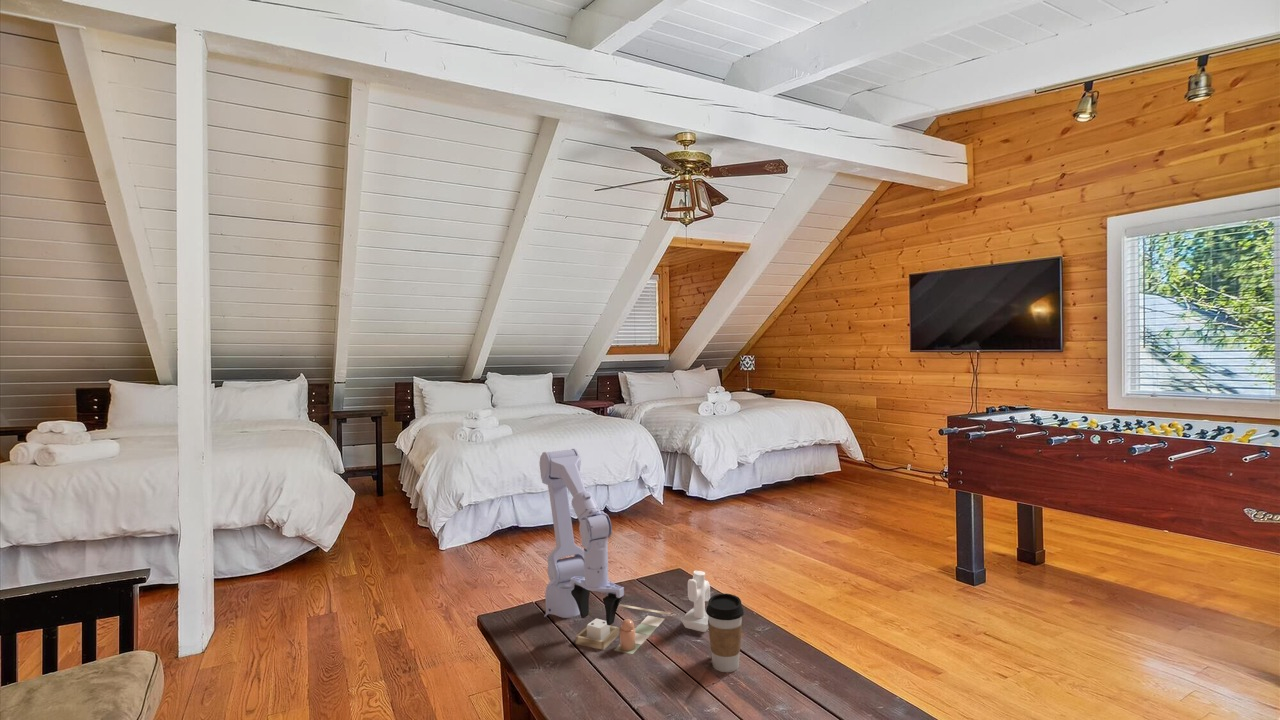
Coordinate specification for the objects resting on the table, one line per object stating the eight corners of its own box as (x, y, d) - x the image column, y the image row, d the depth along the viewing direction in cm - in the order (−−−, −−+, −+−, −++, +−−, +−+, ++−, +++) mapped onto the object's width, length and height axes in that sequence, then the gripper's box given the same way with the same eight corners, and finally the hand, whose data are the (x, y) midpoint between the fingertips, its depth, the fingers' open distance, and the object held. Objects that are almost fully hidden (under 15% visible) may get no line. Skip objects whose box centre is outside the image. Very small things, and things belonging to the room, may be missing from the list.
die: (587, 640, 159) (586, 624, 158) (596, 634, 162) (596, 618, 162) (600, 644, 156) (600, 628, 156) (610, 637, 160) (609, 621, 160)
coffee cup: (747, 659, 151) (746, 595, 150) (740, 678, 143) (739, 610, 142) (711, 653, 153) (710, 591, 152) (702, 672, 145) (702, 605, 145)
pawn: (617, 648, 154) (617, 621, 153) (624, 642, 157) (624, 615, 157) (630, 652, 152) (630, 624, 152) (638, 645, 155) (637, 618, 155)
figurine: (720, 625, 167) (719, 568, 167) (704, 641, 159) (704, 581, 159) (694, 620, 171) (693, 563, 170) (678, 634, 163) (677, 575, 162)
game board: (572, 651, 156) (571, 638, 156) (620, 607, 179) (619, 596, 179) (629, 663, 150) (628, 650, 149) (671, 616, 173) (670, 605, 173)
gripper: (630, 565, 158) (631, 620, 158) (581, 554, 165) (583, 607, 166) (614, 574, 152) (615, 632, 152) (564, 563, 159) (565, 618, 160)
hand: (597, 620), depth 159 cm, fingers open, 7 cm apart
